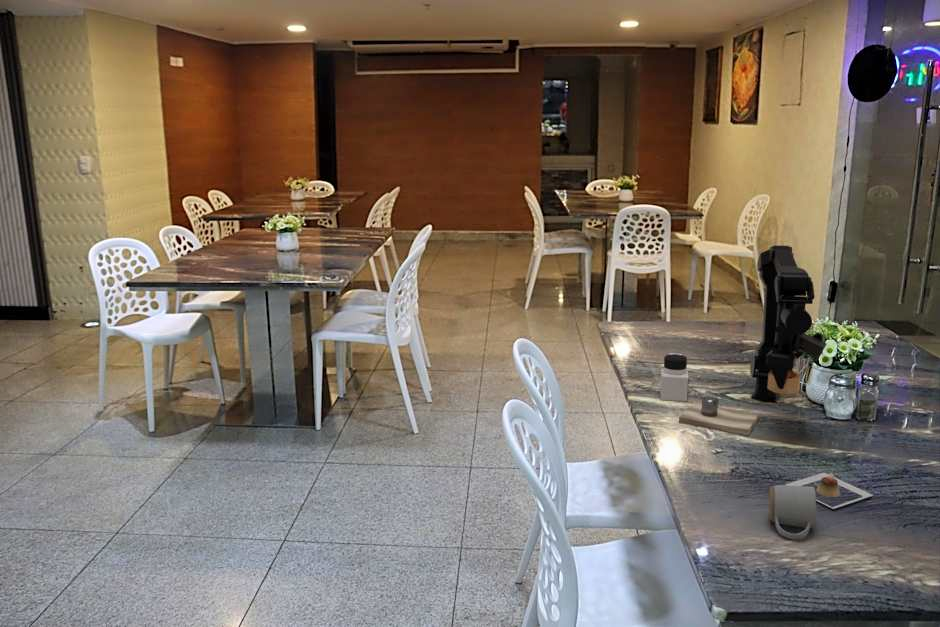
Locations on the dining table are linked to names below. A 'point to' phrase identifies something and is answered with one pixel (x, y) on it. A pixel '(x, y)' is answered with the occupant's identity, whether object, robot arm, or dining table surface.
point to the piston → (709, 406)
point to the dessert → (830, 487)
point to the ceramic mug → (793, 508)
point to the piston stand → (720, 419)
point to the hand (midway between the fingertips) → (783, 384)
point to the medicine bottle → (674, 378)
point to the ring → (790, 385)
